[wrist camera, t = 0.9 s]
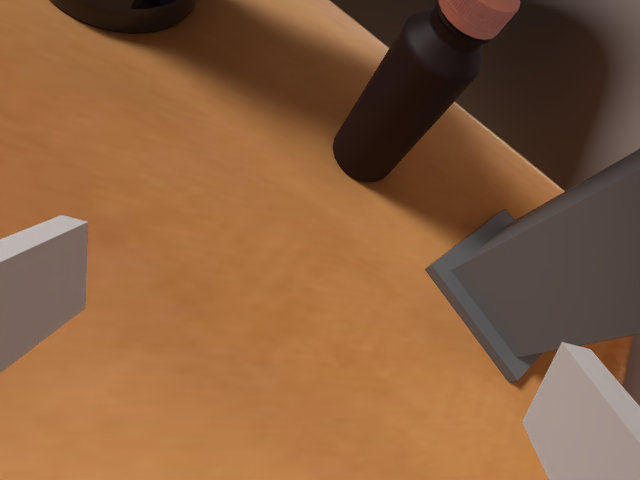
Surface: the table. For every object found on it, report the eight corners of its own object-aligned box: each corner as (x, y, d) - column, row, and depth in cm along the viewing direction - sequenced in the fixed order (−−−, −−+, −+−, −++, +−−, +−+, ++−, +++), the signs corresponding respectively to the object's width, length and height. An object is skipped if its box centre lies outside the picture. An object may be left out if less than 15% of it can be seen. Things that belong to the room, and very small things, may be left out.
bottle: (399, 179, 45) (549, 26, 28) (344, 187, 42) (472, 22, 25) (377, 126, 47) (504, -48, 30) (322, 130, 44) (428, -60, 27)
